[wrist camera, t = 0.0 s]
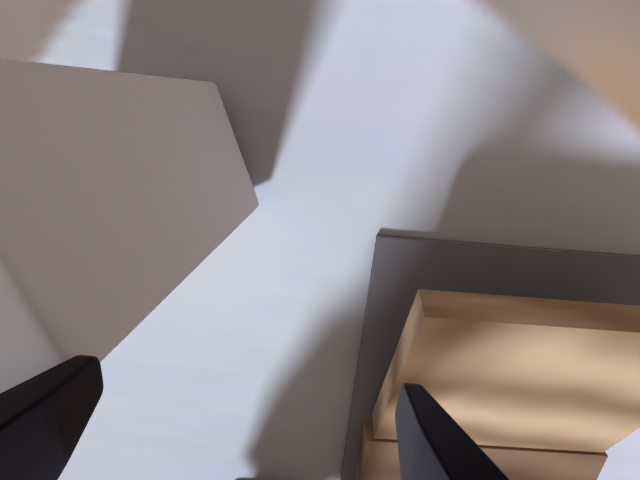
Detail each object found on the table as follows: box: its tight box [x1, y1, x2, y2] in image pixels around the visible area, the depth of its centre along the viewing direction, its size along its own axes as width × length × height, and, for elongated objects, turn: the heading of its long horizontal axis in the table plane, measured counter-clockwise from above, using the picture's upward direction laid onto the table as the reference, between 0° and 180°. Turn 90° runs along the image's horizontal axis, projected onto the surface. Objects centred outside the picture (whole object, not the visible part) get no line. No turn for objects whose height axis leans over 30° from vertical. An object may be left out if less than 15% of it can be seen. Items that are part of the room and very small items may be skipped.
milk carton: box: [0, 59, 259, 393], centre depth 13 cm, size 7×7×19 cm
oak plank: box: [372, 289, 640, 453], centre depth 23 cm, size 14×17×2 cm
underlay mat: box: [341, 235, 640, 480], centre depth 28 cm, size 22×20×1 cm
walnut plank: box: [354, 420, 608, 480], centre depth 29 cm, size 7×18×2 cm, turn 85°
